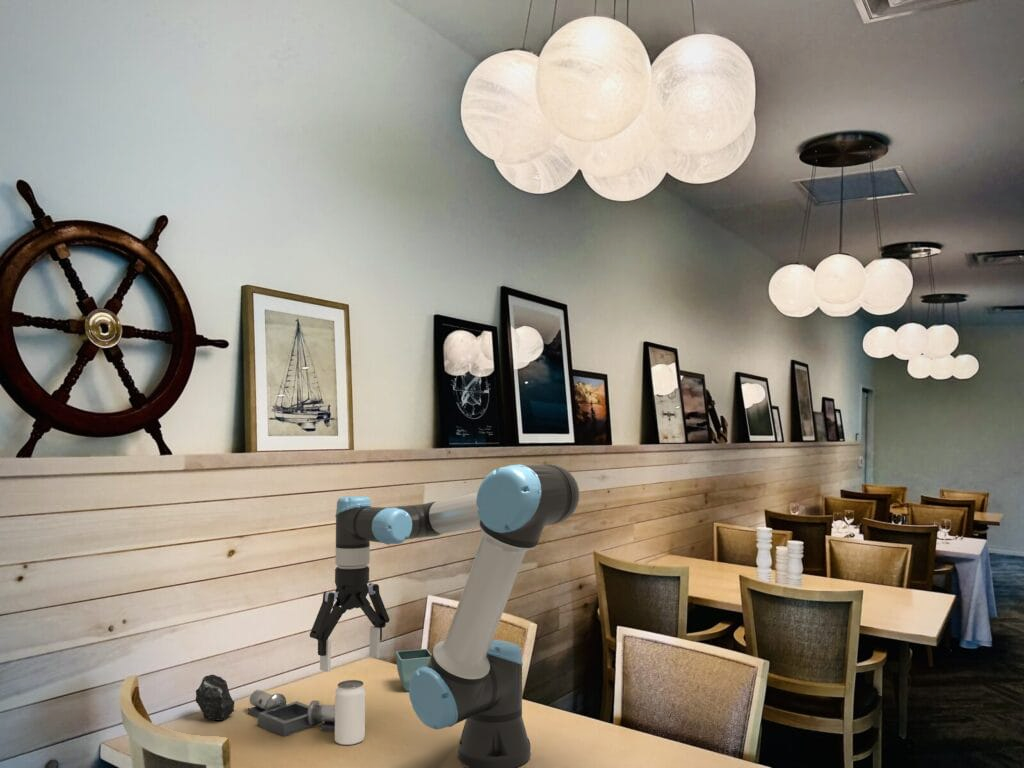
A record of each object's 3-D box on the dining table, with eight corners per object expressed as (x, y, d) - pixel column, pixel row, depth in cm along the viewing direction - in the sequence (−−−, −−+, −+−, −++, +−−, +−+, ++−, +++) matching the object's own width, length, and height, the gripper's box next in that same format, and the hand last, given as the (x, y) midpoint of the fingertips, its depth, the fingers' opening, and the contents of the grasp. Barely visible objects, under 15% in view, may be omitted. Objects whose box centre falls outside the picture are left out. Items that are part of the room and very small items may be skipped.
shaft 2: (306, 730, 167) (307, 704, 168) (316, 721, 172) (316, 697, 173) (343, 732, 166) (343, 706, 166) (351, 724, 171) (352, 699, 171)
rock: (191, 722, 172) (193, 678, 173) (212, 711, 179) (213, 669, 180) (220, 725, 170) (221, 681, 171) (239, 715, 177) (241, 672, 178)
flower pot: (394, 684, 199) (395, 650, 200) (427, 681, 202) (427, 648, 203) (399, 695, 191) (400, 659, 192) (433, 691, 194) (433, 656, 194)
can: (357, 747, 158) (358, 689, 159) (329, 744, 159) (330, 687, 160) (369, 735, 164) (370, 680, 165) (342, 733, 165) (343, 678, 166)
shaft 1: (286, 715, 176) (286, 691, 177) (266, 721, 172) (267, 697, 173) (265, 707, 182) (266, 684, 182) (246, 713, 178) (247, 689, 178)
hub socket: (322, 723, 171) (322, 710, 172) (283, 736, 163) (283, 723, 164) (296, 713, 178) (296, 701, 178) (257, 725, 170) (258, 713, 170)
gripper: (384, 557, 177) (382, 648, 175) (294, 571, 158) (292, 673, 156) (405, 560, 172) (404, 654, 170) (315, 575, 153) (313, 680, 151)
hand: (350, 663), depth 163 cm, fingers open, 13 cm apart
